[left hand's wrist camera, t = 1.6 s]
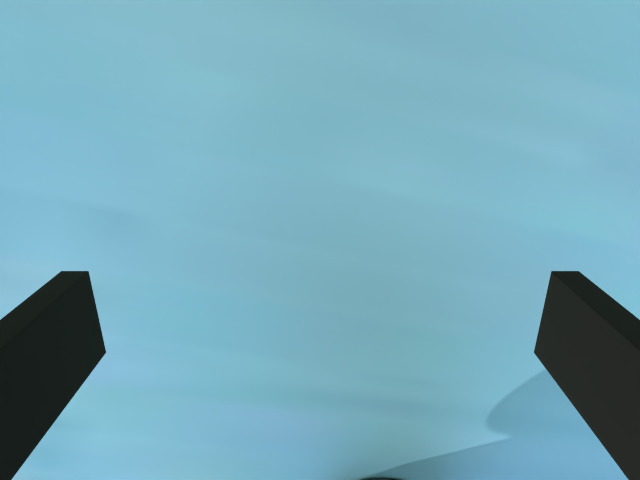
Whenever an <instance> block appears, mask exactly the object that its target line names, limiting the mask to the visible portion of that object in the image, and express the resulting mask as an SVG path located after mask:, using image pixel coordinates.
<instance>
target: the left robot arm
mask: <svg viewBox="0 0 640 480" xmlns="http://www.w3.org/2000/svg"><path fill="white" fill-rule="evenodd" d="M105 353H106V350H105V346H104V341H103V336H102V332H101V327H100V323H99V318H98V313H97V309H96V304H95V299H94V295H93V290H92V286H91V281H90V276H89V272H88V271H61V272H60V273H59V274H57V275H56V276H55V277H54V278H52V279H51V280H50V281H49V282H47V283H46V284H45V285H44V286H42V287H41V288H40V289H39V290H37V291H36V292H35V293H34V294H32V295H31V296H30V297H29V298H27V299H26V300H25V301H24V302H22V303H21V304H20V305H19V306H17V307H16V308H15V309H14V310H12V311H11V312H10V313H8V314H7V315H6V316H5V317H3V318H2V319H1V320H0V480H11V479H12V478H13V477H14V475H15V474H16V473H17V471H18V470H19V469H20V467H21V466H22V465H23V463H24V462H25V461H26V459H27V458H28V457H29V455H30V454H31V452H32V451H33V450H34V448H35V447H36V446H37V444H38V443H39V442H40V440H41V439H42V438H43V436H44V435H45V434H46V432H47V431H48V430H49V428H50V427H51V426H52V424H53V423H54V422H55V420H56V419H57V418H58V416H59V415H60V414H61V412H62V411H63V409H64V408H65V407H66V405H67V404H68V403H69V401H70V400H71V399H72V397H73V396H74V395H75V393H76V392H77V391H78V389H79V388H80V387H81V385H82V384H83V383H84V381H85V380H86V379H87V377H88V376H89V375H90V373H91V372H92V371H93V369H94V368H95V367H96V365H97V364H98V362H99V361H100V360H101V358H102V357H103V356H104V354H105ZM534 353H535V354H536V356H537V357H538V358H539V360H540V361H541V362H542V364H543V365H544V367H545V368H546V369H547V371H548V372H549V373H550V375H551V376H552V377H553V379H554V380H555V381H556V383H557V384H558V385H559V387H560V388H561V389H562V391H563V392H564V393H565V395H566V396H567V397H568V399H569V400H570V401H571V403H572V404H573V405H574V407H575V408H576V409H577V411H578V412H579V414H580V415H581V416H582V418H583V419H584V420H585V422H586V423H587V424H588V426H589V427H590V428H591V430H592V431H593V432H594V434H595V435H596V436H597V438H598V439H599V440H600V442H601V443H602V444H603V446H604V447H605V448H606V450H607V451H608V452H609V454H610V455H611V457H612V458H613V459H614V461H615V462H616V463H617V465H618V466H619V467H620V469H621V470H622V471H623V473H624V474H625V475H626V477H627V478H628V479H629V480H640V320H639V319H638V318H637V317H635V316H634V315H633V314H632V313H630V312H629V311H628V310H626V309H625V308H624V307H623V306H621V305H620V304H619V303H618V302H616V301H615V300H614V299H613V298H611V297H610V296H609V295H608V294H606V293H605V292H604V291H603V290H601V289H600V288H599V287H598V286H596V285H595V284H594V283H593V282H591V281H590V280H589V279H588V278H586V277H585V276H584V275H583V274H581V273H580V272H579V271H552V272H551V276H550V281H549V286H548V290H547V295H546V299H545V304H544V309H543V313H542V318H541V323H540V327H539V332H538V336H537V341H536V346H535V350H534ZM372 480H391V479H372Z"/></svg>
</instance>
